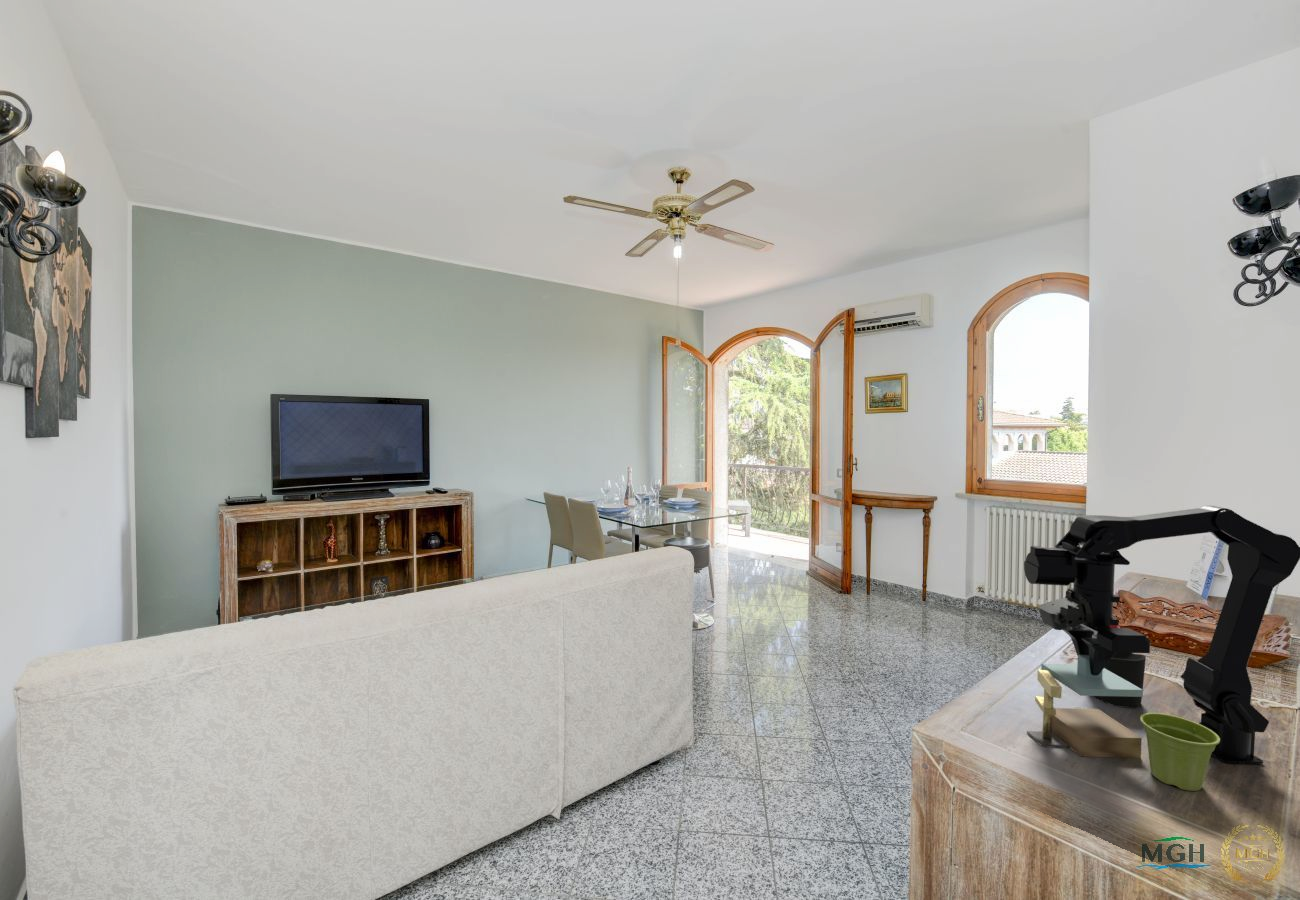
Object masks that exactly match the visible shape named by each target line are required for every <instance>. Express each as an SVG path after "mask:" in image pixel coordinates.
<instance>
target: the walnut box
mask: <svg viewBox="0 0 1300 900" xmlns="http://www.w3.org/2000/svg"><path fill="white" fill-rule="evenodd" d="M1054 708H1055V709H1056V716H1055V715H1053V721H1052V739H1051V740H1049V739H1045V738H1043V730H1042V731H1040V730H1039V731H1035V730H1033V731H1032V730H1030V731H1029V730H1026V734H1027V733H1028V734H1027V735H1028V736H1030V737H1031V738H1032V739H1033V740H1034V741H1036V743H1037V744H1038V745H1040V746H1041V747H1043V748H1044V747H1045V748H1047V747H1048V748H1050V747H1051V748H1070V747H1071V748H1072V749H1073V750H1072V749H1071V748H1070V749H1071V750H1072V751H1074V752H1075V751H1076V752H1077V753H1078V754H1079V756H1080V757H1081V756H1084V757H1083V758H1085V757H1088V758H1091V757H1092V758H1123V759H1124V758H1127V759H1128V758H1130V759H1131V758H1132V759H1133V758H1134V759H1141V758H1142V741H1143V740H1142V739H1143V738H1142V737H1140V736H1139V735H1138V734H1137V733H1135V732H1134V731H1133V730H1130V729H1129V728H1128V727H1126V726H1124V725H1123V724H1121V722H1119V721H1117V720H1116V719H1114V718H1112V717H1111V716H1110V715H1108V714H1106V713H1104V712H1103V711H1102V710H1101V709H1099V708H1075V707H1074V708H1073V707H1071V708H1069V707H1067V708H1066V707H1061V708H1060V707H1054ZM1069 746H1070V747H1069ZM1076 752H1075V753H1076ZM1077 753H1076V754H1077ZM1078 754H1077V755H1078Z"/></svg>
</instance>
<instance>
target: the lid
mask: <svg viewBox="0 0 1300 900" xmlns="http://www.w3.org/2000/svg"><path fill="white" fill-rule="evenodd" d="M1040 667H1041V669H1040V670H1047V671H1048V672H1049V673H1050V674H1051V675H1052V676H1053V677H1054V679H1055V680H1056V681H1057V682H1058V683H1061V684H1062V685H1064V686H1065V687H1067V688H1069V690H1072V691H1073V692H1075V693H1076V694H1077V695H1079V696H1083V697H1086V696H1087V697H1093V696H1129V697H1142V698H1143V697H1144V696H1143V694H1144V689H1143V690H1142V689H1141V688H1139V687H1137V686H1135V685H1133V684H1132V683H1130V682H1128V681H1126V680H1125V679H1123V678H1121V677H1119V676H1117V675H1116V674H1114V673H1112V672H1110V671H1108V670H1107V669H1105V668H1104V669H1103V670H1102V671H1101V673H1100V674H1099V675H1092V674H1091V670H1090V659H1089V655H1078V656H1077V663H1043V662H1042V663H1041V665H1040Z"/></svg>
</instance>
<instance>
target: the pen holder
mask: <svg viewBox="0 0 1300 900" xmlns="http://www.w3.org/2000/svg"><path fill="white" fill-rule="evenodd" d="M1146 658H1147V657H1146V656H1145V655H1144V654H1139V653H1116V654H1115V655H1114V656H1113V657H1112V658H1111V659H1110V661H1109V662H1108V663H1107V665H1106V666H1105V667H1104V668H1105V669H1107V670H1108V671H1110V672H1112V673H1114V674H1116V675H1117V676H1119V677H1121V678H1123V679H1125V680H1126V681H1128V682H1130V683H1132V684H1133V685H1135V686H1137V687H1139V688H1141V689H1142V690H1143V691H1144V679H1145V670H1146V669H1145V668H1146V660H1147V659H1146ZM1092 697H1093V698H1094V699H1096V700H1098V701H1099V702H1102V703H1104V704H1108V705H1112V706H1115V707H1121V708H1137V707H1139V706H1140V705H1142V699H1143V697H1129V696H1092Z"/></svg>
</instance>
